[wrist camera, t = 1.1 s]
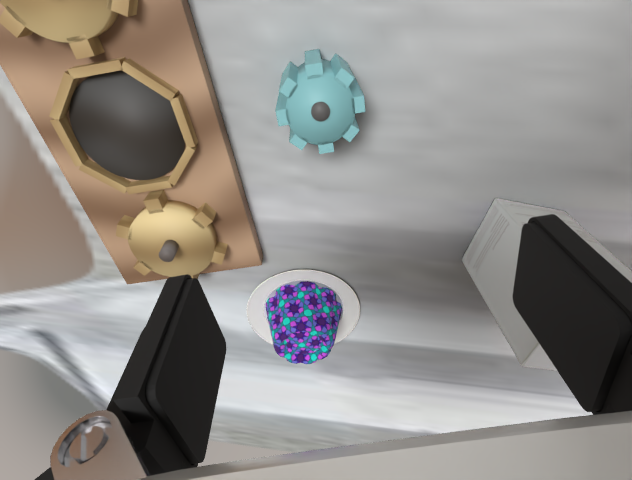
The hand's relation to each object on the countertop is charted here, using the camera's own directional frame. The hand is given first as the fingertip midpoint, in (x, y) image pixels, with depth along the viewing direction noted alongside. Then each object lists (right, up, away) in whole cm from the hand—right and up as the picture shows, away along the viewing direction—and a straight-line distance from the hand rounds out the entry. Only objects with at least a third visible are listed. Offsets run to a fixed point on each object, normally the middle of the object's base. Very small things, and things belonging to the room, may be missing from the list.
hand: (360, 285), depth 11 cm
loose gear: (-1, +12, +17) cm, 21 cm away
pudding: (-3, -6, +30) cm, 31 cm away
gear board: (-15, +10, +18) cm, 26 cm away
